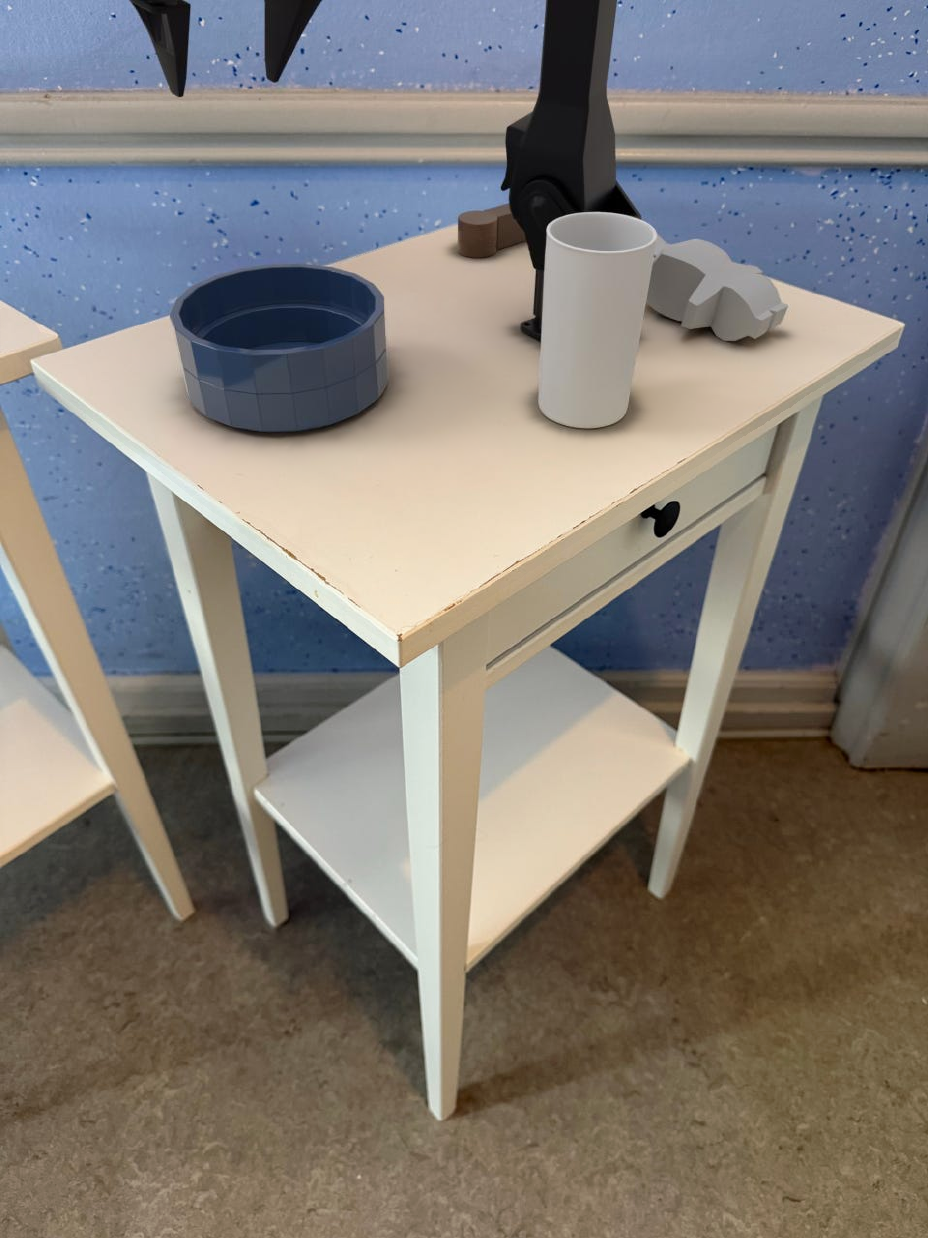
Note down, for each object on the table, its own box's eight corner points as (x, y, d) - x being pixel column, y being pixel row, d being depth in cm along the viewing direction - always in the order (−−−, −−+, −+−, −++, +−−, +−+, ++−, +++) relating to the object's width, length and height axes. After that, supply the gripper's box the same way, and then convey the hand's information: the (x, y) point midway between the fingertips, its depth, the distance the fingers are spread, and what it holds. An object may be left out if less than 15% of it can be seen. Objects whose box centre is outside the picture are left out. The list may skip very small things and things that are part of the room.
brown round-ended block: (549, 237, 87) (551, 204, 85) (474, 261, 83) (475, 227, 80) (523, 226, 89) (525, 194, 87) (449, 249, 85) (449, 215, 83)
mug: (597, 442, 60) (620, 261, 52) (515, 409, 63) (524, 233, 55) (671, 385, 66) (702, 213, 58) (592, 357, 69) (611, 191, 61)
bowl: (427, 393, 65) (426, 312, 61) (252, 461, 58) (237, 376, 54) (318, 324, 73) (311, 248, 69) (153, 377, 66) (134, 297, 62)
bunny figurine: (748, 312, 66) (590, 232, 72) (726, 373, 70) (578, 292, 76) (814, 275, 71) (661, 203, 77) (790, 334, 75) (647, 261, 81)
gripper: (256, -190, 69) (255, 41, 81) (24, -205, 59) (61, 64, 70) (355, -150, 65) (340, 87, 77) (125, -159, 54) (147, 119, 66)
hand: (226, 87), depth 72 cm, fingers open, 9 cm apart
